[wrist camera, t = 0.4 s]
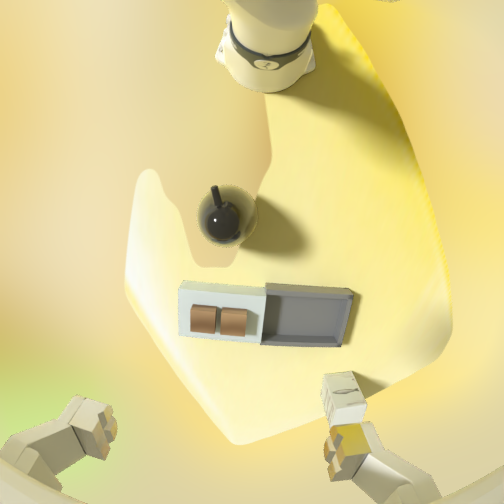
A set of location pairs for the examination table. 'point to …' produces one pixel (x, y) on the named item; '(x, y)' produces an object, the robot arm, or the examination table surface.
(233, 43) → the robot arm
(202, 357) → the examination table surface
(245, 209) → the pump dispenser
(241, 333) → the tile
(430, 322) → the examination table surface
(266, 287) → the tray
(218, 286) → the pale grey flat block
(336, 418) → the supplement box
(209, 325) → the tile
